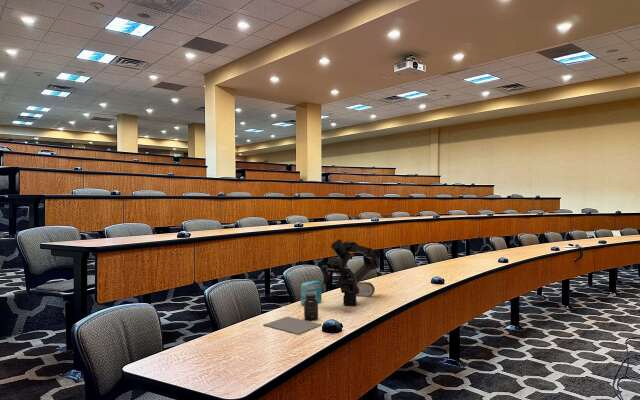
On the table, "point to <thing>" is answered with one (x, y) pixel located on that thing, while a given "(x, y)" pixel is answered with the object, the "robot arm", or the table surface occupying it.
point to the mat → (292, 325)
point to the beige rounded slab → (365, 289)
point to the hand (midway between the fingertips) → (330, 285)
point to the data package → (311, 290)
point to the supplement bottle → (310, 307)
